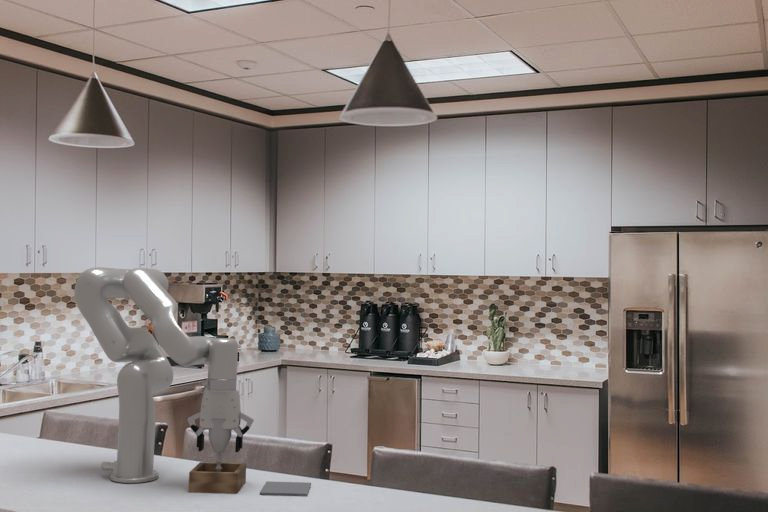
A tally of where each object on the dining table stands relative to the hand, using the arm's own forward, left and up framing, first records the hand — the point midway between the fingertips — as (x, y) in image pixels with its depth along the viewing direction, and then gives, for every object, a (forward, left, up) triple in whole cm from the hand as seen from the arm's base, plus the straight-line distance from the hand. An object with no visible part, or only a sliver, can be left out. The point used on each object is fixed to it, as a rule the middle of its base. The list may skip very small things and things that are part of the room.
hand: (219, 450), depth 202 cm
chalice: (0, 0, -10) cm, 10 cm away
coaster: (+18, -1, -9) cm, 20 cm away
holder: (0, 0, -9) cm, 9 cm away
